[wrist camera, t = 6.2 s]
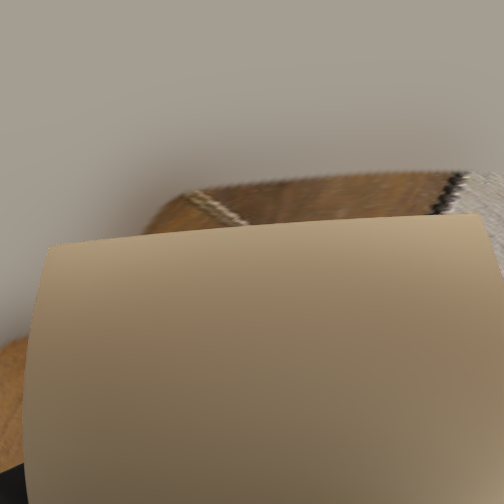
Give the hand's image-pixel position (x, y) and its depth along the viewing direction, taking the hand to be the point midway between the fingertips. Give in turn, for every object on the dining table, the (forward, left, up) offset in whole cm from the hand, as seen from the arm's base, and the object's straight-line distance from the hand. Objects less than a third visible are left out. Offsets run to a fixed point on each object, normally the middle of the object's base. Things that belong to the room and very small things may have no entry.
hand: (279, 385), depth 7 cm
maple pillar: (-1, -1, -7) cm, 7 cm away
